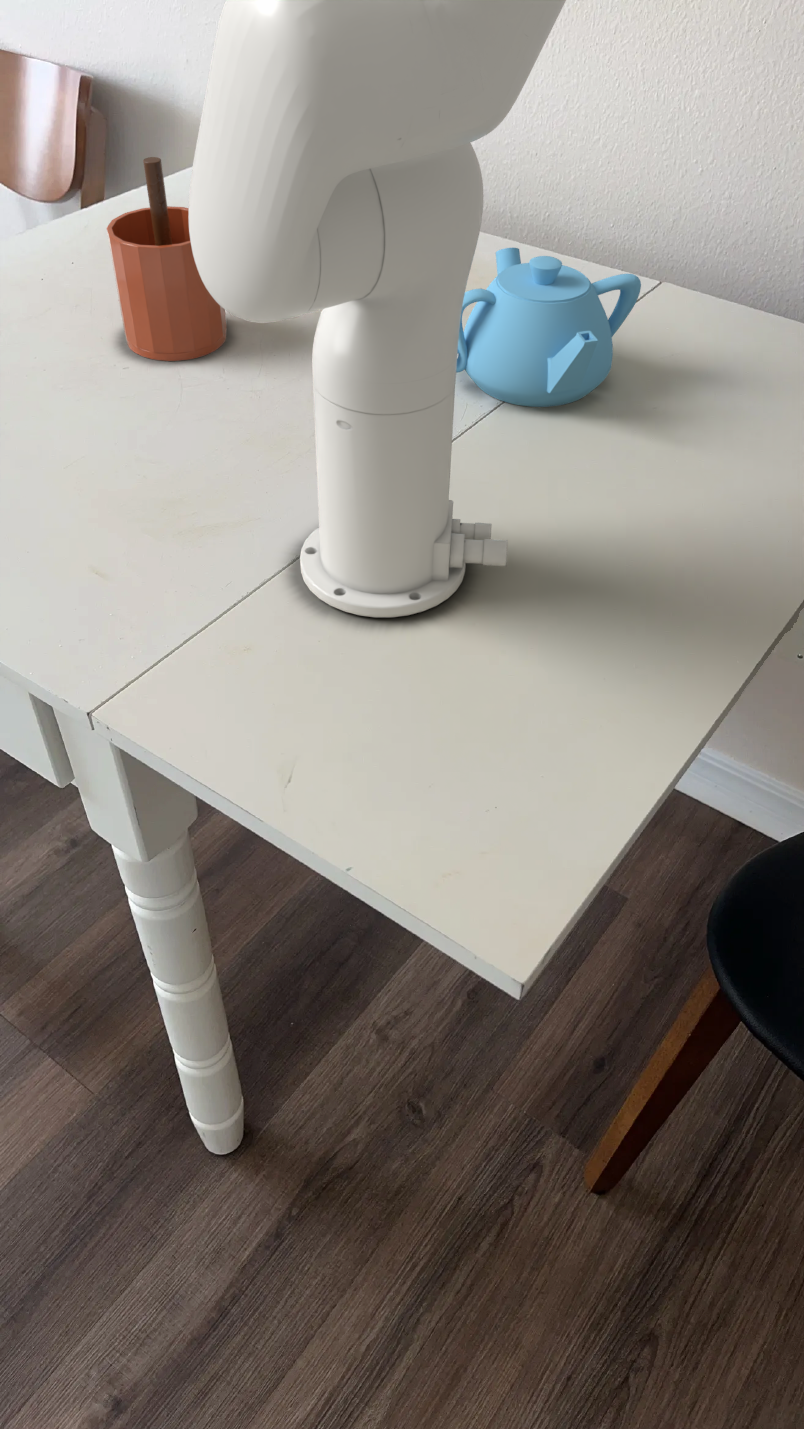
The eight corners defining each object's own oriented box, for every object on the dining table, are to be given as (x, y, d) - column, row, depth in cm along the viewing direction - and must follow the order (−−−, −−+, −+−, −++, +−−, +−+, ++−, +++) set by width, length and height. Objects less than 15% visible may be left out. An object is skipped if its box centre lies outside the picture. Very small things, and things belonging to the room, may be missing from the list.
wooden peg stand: (205, 320, 110) (185, 151, 99) (194, 342, 107) (173, 170, 95) (156, 317, 110) (131, 149, 99) (145, 340, 107) (117, 168, 95)
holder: (234, 318, 112) (224, 208, 105) (216, 363, 105) (203, 249, 97) (140, 313, 113) (122, 204, 105) (115, 358, 106) (94, 244, 98)
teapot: (637, 354, 108) (657, 240, 100) (581, 435, 97) (599, 314, 89) (495, 322, 113) (503, 211, 105) (426, 396, 102) (430, 278, 94)
